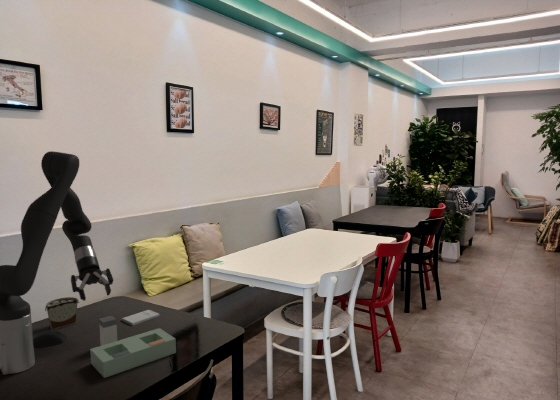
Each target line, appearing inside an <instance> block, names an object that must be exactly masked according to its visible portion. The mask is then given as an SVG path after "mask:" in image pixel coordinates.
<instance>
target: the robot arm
mask: <svg viewBox="0 0 560 400" xmlns="http://www.w3.org/2000/svg"><path fill="white" fill-rule="evenodd" d="M40 164H41V170H42V173H43V175H44V176H45V178H46V180H47V182H48V184H49V186H50V188H49V189H48V190H47V191H45V192H44V193H42V194H41V195H40V196H38V197H37V198H36V199H35V200H34V201H33V202H31V203H30V205H28V207H27V209H26V212H25V214H24V216H23V219H22V221H21V224H20V234H21V240H22V248H21V249H22V250H21V253H20V256H19V258H18V260H17V262H16V264H15V265H12V264H2V265H0V371H1V373H2V375H4V376H5V375H9V374H10V375H12V374H18V373H21V372H24V371H27V370H29V369H31V368H32V367H33V366H35V364H36V359H35V347H34V345H33V338H34V336H33V334H34V333H33V324H32V323H33V322H32V312H31V310H32V308H31V305H30V303H29V302H27V301H26V300H24V298H22V297H21V296H24V295H26V294H27V293H29V291H30V290H31V289H32V287H33V285H34V283H35V280H36V277H37V274H38V270H39V267H40V262H41V260H42V256H43V254H44V250H45V248H46V246H47V242H48V240H49V237H50V235H51V233H52V231H53V229H54V226H55V223H56V221H57V219H58V216H59V213H60V210H61V212H62V214H63V215H62V216H63V218H64V219H66V220H65V221H63V223H62V225H61V228H62V232H63V234H64V235H65V236H66V237H67V238H68V240H69V242H70V244H71V247H72V250H73V254H74V263H75V264H76V268H77V272H78V275H74V274H72V275H71V277H70V284H71V289H72V292H73V293H78V294H79V298H80V300H81V301H83V302H84V301H86V300H87V299H86V298H87V297H86V294H85V290H84V288H85V287H86V286H87V285H88V286H90V285H93V284H100V285H102V286H104V290H105V293H106V296H107V297H108V296H110V294H111V292H112V288H111V285H113V283H114V281H115V279H114V277H113V275H112V272H111V270H110V268H106V269H105V270H104V269H103V270H102V269H101V267H100V263H99V260H98V257H97V254H96V251H95V249H94V246H93V242H92V239H91V238H90V236H89V235H86V234H88V233H89V232H91V231H92V222H91V220H90V219H89V218H88V216H87V215H86V214H85V212H84V209H83V207H82V204H81V200H80V198H79V196H78V194H77V193H76V192H75V191H74V190H73V188H71V187H72V185H73V183H74V181H75V179H76V177H77V175H78V172H79V170H80V158H79V156H78V155H75V154H73V153H72V154H71V153H68V152H67V153H66V152H60V151H51V150H50V151H47V152H45V153H44V155H43V156H42V158H41V163H40ZM103 275H104V276H103ZM105 277H106V278H107V279H106V278H105ZM78 280H79V281H81V282H80V283H81V284H80V285H79V286H77V282H78Z"/></svg>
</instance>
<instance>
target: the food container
mask: <svg viewBox="0 0 560 400" xmlns="http://www.w3.org/2000/svg"><path fill="white" fill-rule="evenodd" d="M78 304H80V301H79V299H78V298H77V297H73V296H72V297H70V296H68V297H60V298H55V299H53V300H50V301H48V302H47V303H46V305H45V308H44V311H45V312H47V316H48V322H49V326H50V330H57V329H59V328H64V327H68V326H71V325H75V324H77V321H78V320H77V319H78Z"/></svg>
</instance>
